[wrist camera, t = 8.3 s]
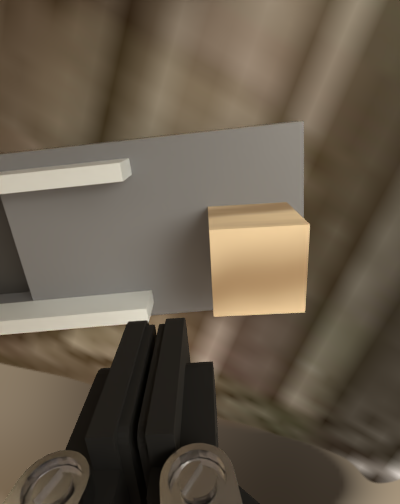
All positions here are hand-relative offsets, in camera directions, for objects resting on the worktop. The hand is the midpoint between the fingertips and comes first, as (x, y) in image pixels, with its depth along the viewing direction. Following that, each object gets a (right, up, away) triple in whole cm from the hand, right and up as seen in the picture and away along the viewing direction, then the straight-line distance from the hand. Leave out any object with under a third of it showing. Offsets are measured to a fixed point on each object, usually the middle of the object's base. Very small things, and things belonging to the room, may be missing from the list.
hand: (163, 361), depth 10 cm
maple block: (+4, +4, +12) cm, 14 cm away
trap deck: (-5, +5, +14) cm, 16 cm away
